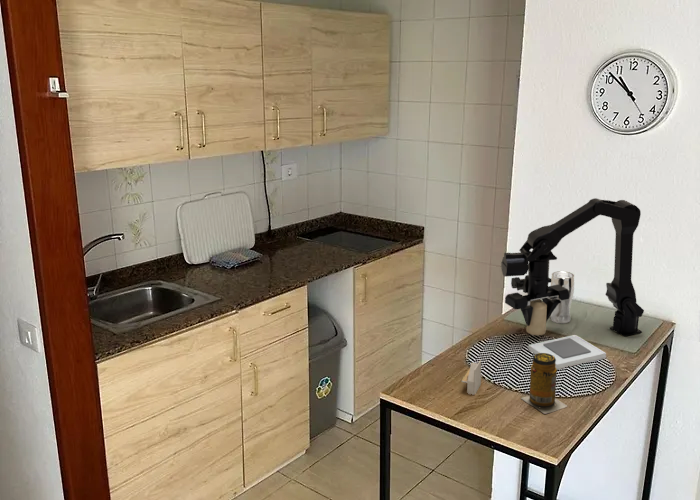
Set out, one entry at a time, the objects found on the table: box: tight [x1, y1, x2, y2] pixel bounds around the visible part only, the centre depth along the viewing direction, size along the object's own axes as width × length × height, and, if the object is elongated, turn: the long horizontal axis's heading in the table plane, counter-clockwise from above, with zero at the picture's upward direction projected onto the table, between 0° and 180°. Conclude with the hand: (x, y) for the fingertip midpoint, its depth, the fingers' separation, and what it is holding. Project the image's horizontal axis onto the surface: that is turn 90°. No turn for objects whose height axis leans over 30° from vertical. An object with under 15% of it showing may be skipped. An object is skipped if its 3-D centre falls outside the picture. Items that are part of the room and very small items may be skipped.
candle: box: [526, 299, 547, 336], centre depth 192 cm, size 6×6×10 cm
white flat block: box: [528, 334, 607, 370], centre depth 182 cm, size 16×13×2 cm
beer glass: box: [549, 270, 575, 324], centre depth 202 cm, size 7×7×15 cm
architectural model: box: [461, 359, 482, 396], centre depth 167 cm, size 3×7×7 cm, turn 153°
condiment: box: [520, 353, 568, 415], centre depth 157 cm, size 7×8×12 cm
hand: (536, 323), depth 193 cm, fingers closed on candle, 5 cm apart
